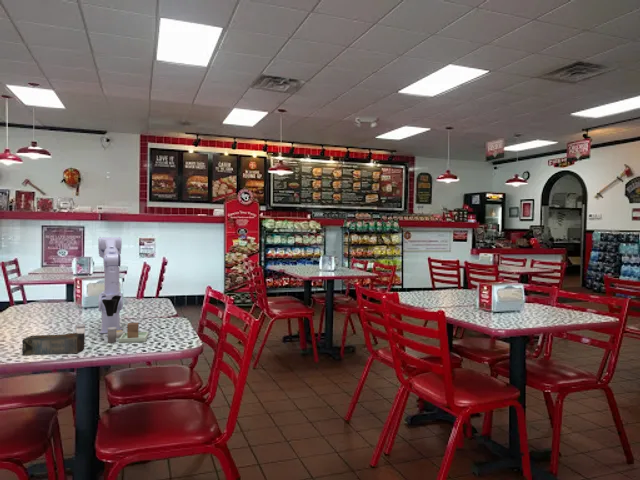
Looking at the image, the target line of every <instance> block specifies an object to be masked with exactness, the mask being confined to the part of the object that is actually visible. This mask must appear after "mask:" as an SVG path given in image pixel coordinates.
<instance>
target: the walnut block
mask: <svg viewBox="0 0 640 480" xmlns="http://www.w3.org/2000/svg"><path fill="white" fill-rule="evenodd" d="M126 326H127V329H126V330H127V332H126V333H127V338H138V332H139V322H128V323H127V325H126Z"/></svg>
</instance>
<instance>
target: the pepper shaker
mask: <svg viewBox="0 0 640 480" xmlns="http://www.w3.org/2000/svg"><path fill="white" fill-rule="evenodd" d="M116 330H117V327H108V333H107V344H115V343H117V338H116Z"/></svg>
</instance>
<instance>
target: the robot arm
mask: <svg viewBox="0 0 640 480" xmlns="http://www.w3.org/2000/svg"><path fill="white" fill-rule="evenodd" d="M97 241H98V242H97V243H98V244H97V245H98V246H97V247H98V256H99V257H100V258H102V259H103V263H102V265H103V269H104V270H103V271H104V290H102V291H101V292H100V293H99V295H98V311H99V312H101V330H99V332H98V333H99V334H108V327H117V330H123V327H120V323H121V321H120V319H121V317H120V311H122V310H123V307H124V305H123V304H124V303H123V294H122V292H121V291H120V268H121V264H122V263H121V262H122V260H121V259H122V257H121V254H122V246H123V245H122V238H121V236H118V237H113V236H111V237H106V236H105V237H104V236H103V237H101V236H99V237H98V240H97Z"/></svg>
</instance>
